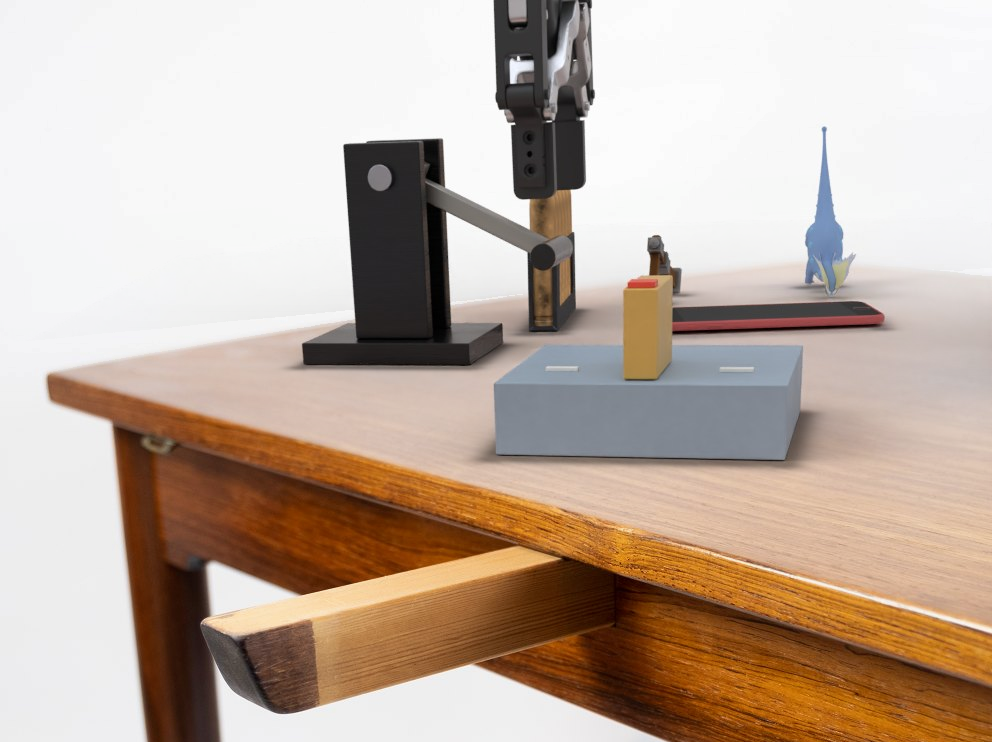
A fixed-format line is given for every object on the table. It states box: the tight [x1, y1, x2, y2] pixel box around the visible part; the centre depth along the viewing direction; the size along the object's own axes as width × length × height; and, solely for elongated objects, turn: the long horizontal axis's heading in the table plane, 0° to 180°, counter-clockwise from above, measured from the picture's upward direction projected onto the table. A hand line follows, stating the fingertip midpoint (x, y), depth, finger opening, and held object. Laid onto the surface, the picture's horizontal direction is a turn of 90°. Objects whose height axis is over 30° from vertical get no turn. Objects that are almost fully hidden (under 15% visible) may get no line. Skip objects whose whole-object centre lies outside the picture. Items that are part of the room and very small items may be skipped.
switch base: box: [493, 344, 804, 461], centre depth 66 cm, size 12×10×3 cm
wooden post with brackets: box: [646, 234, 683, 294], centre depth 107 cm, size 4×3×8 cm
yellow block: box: [622, 275, 674, 380], centre depth 63 cm, size 5×1×4 cm, turn 166°
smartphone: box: [672, 300, 885, 332], centre depth 95 cm, size 7×1×14 cm
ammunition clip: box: [526, 190, 577, 332], centre depth 98 cm, size 11×2×12 cm, turn 170°
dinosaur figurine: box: [804, 126, 857, 298], centre depth 109 cm, size 3×15×10 cm
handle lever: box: [424, 161, 573, 271], centre depth 86 cm, size 12×5×2 cm, turn 75°
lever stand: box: [301, 137, 504, 366], centre depth 88 cm, size 10×8×12 cm
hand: (551, 194), depth 84 cm, fingers open, 8 cm apart
